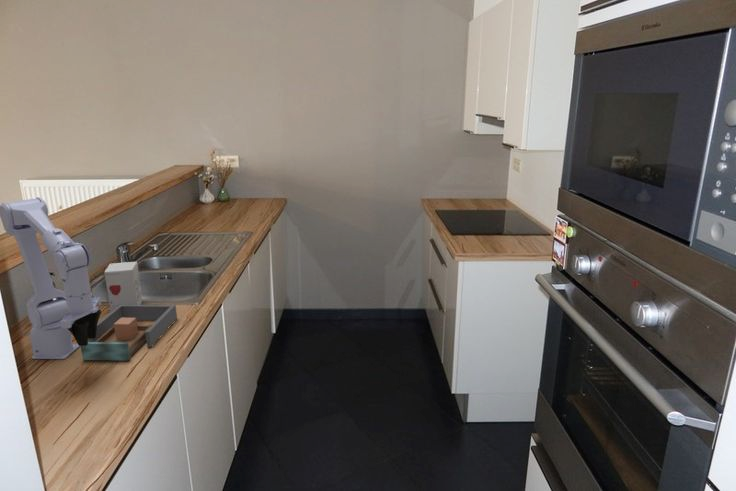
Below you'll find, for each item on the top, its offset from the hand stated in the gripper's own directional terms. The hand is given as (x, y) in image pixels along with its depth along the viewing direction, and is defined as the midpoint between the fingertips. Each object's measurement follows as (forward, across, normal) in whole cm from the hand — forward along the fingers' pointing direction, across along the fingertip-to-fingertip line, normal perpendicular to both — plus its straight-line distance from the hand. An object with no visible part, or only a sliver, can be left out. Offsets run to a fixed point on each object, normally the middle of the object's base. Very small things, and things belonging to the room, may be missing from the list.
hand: (87, 341), depth 135 cm
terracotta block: (+8, +19, 0) cm, 21 cm away
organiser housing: (+9, +24, 0) cm, 26 cm away
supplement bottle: (+10, +37, +23) cm, 45 cm away
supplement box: (+10, +43, +12) cm, 46 cm away
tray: (+9, +15, 0) cm, 18 cm away
